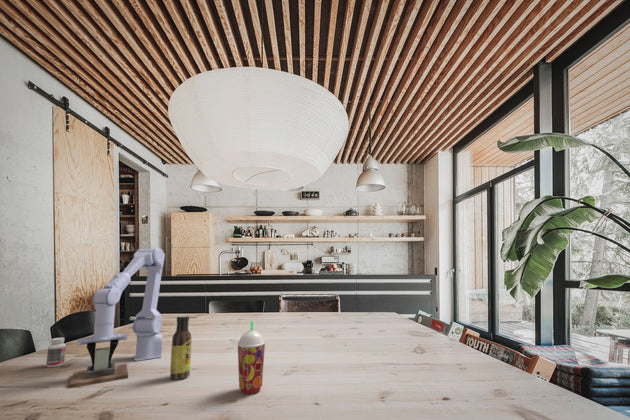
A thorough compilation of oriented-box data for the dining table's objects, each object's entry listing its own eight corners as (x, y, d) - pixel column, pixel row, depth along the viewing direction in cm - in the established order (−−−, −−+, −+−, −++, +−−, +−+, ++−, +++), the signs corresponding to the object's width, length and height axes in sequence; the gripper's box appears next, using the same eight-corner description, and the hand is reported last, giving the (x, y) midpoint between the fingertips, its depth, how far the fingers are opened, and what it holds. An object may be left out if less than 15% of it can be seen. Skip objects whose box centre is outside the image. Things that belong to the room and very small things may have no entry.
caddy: (126, 366, 122) (127, 358, 122) (128, 377, 110) (128, 368, 110) (73, 375, 114) (74, 365, 114) (69, 388, 102) (69, 378, 102)
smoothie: (238, 385, 102) (240, 319, 105) (265, 384, 103) (266, 318, 106) (234, 396, 94) (236, 324, 97) (263, 395, 95) (264, 323, 97)
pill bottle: (63, 366, 123) (66, 339, 125) (45, 368, 120) (48, 341, 122) (64, 362, 128) (67, 336, 129) (47, 365, 125) (49, 338, 126)
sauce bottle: (188, 379, 108) (191, 317, 111) (168, 381, 106) (171, 318, 109) (191, 373, 114) (193, 314, 117) (171, 374, 113) (174, 315, 115)
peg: (107, 367, 115) (109, 346, 116) (107, 370, 111) (109, 349, 112) (94, 369, 113) (95, 348, 114) (93, 373, 109) (95, 351, 110)
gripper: (78, 327, 107) (74, 371, 105) (128, 322, 115) (125, 363, 113) (79, 324, 113) (76, 365, 111) (127, 319, 121) (125, 358, 119)
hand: (101, 364), depth 112 cm, fingers closed on peg, 4 cm apart
